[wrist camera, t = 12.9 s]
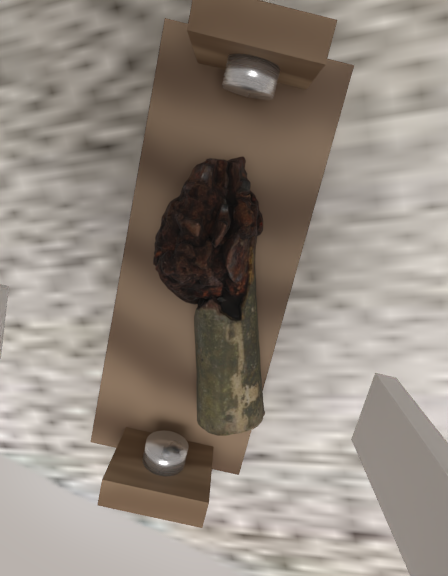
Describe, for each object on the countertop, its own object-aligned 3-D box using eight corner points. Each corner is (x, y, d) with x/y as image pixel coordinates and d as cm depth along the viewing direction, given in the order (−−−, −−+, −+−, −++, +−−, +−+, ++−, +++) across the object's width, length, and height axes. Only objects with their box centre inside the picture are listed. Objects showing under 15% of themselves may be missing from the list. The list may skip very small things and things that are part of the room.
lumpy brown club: (263, 401, 32) (267, 447, 27) (175, 402, 33) (161, 447, 27) (259, 158, 28) (264, 153, 22) (157, 162, 28) (137, 158, 23)
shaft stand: (168, 26, 27) (144, -29, 20) (347, 71, 28) (387, 32, 21) (96, 431, 35) (59, 496, 28) (238, 462, 35) (239, 535, 28)
